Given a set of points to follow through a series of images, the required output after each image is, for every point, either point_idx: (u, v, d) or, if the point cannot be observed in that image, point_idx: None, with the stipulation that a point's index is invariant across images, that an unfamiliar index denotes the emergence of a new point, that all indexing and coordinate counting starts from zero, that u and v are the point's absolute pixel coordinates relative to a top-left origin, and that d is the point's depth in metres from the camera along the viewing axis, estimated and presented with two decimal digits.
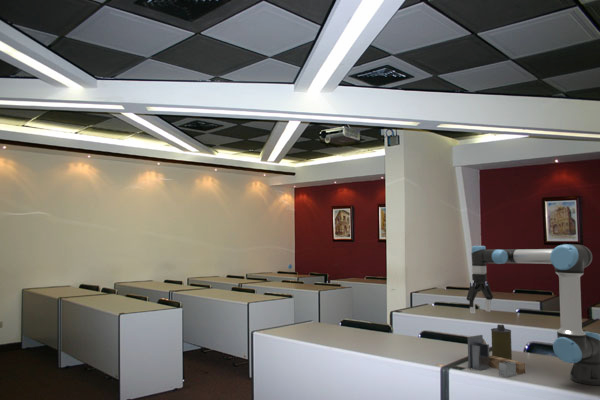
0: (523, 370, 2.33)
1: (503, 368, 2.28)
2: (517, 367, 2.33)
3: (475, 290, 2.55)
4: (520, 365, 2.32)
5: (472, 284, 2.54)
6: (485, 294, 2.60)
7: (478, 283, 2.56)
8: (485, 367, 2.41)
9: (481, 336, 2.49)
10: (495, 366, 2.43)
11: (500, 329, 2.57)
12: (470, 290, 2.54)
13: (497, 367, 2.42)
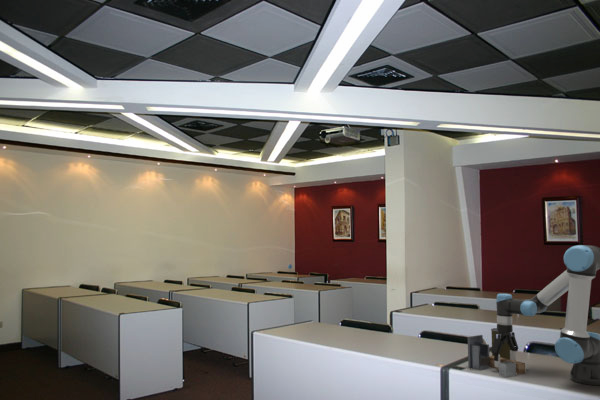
0: (523, 370, 2.33)
1: (503, 368, 2.28)
2: (517, 367, 2.33)
3: (500, 342, 2.39)
4: (520, 365, 2.32)
5: (497, 336, 2.38)
6: (510, 345, 2.44)
7: (503, 335, 2.40)
8: (485, 367, 2.41)
9: (481, 336, 2.49)
10: None
11: None
12: (495, 342, 2.38)
13: (497, 367, 2.42)
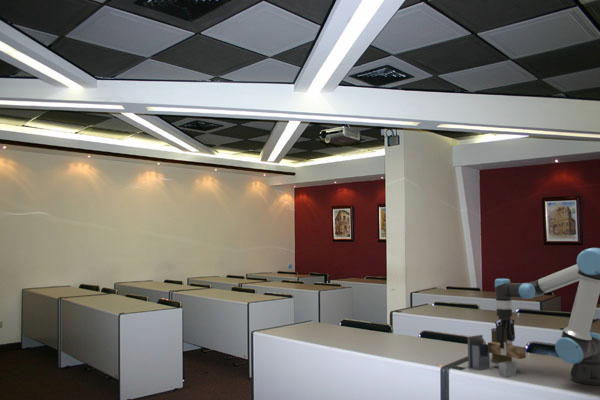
0: (523, 355, 2.34)
1: (503, 368, 2.28)
2: (517, 352, 2.33)
3: (502, 328, 2.40)
4: (520, 349, 2.33)
5: (498, 324, 2.39)
6: (508, 333, 2.43)
7: (503, 319, 2.40)
8: (485, 367, 2.41)
9: (481, 336, 2.49)
10: (495, 351, 2.43)
11: None
12: (498, 330, 2.39)
13: (497, 352, 2.42)
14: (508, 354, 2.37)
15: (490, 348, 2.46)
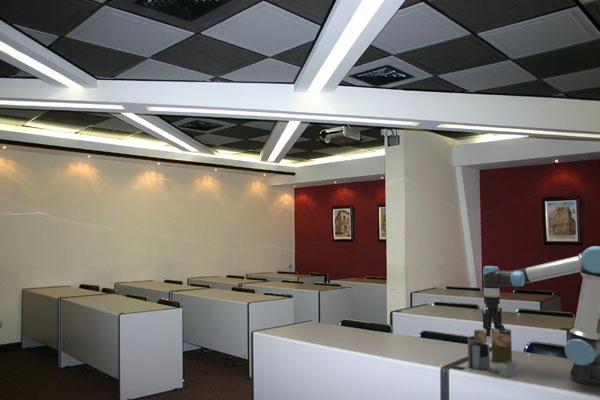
0: (509, 343, 2.31)
1: (503, 368, 2.28)
2: (503, 340, 2.30)
3: (489, 316, 2.37)
4: (506, 338, 2.30)
5: (485, 311, 2.35)
6: (495, 321, 2.40)
7: (490, 306, 2.37)
8: (485, 367, 2.41)
9: None
10: (481, 339, 2.41)
11: (500, 329, 2.57)
12: (484, 318, 2.36)
13: (483, 340, 2.40)
14: (494, 342, 2.34)
15: (476, 336, 2.43)
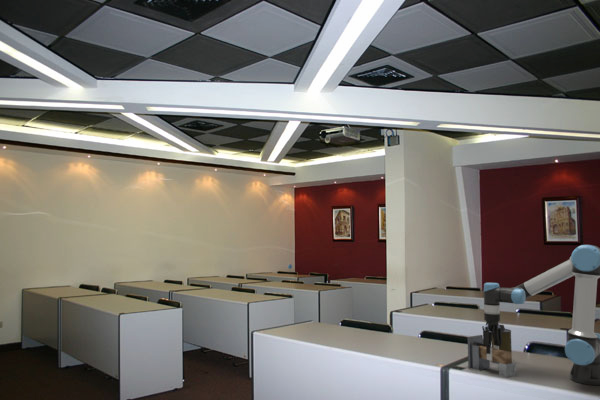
0: (509, 359, 2.30)
1: (503, 368, 2.28)
2: (503, 356, 2.30)
3: (489, 333, 2.36)
4: (506, 354, 2.29)
5: (485, 329, 2.35)
6: (495, 338, 2.39)
7: (490, 324, 2.36)
8: (485, 367, 2.41)
9: (481, 336, 2.49)
10: (481, 356, 2.40)
11: None
12: (484, 335, 2.35)
13: (483, 357, 2.39)
14: (494, 359, 2.34)
15: None
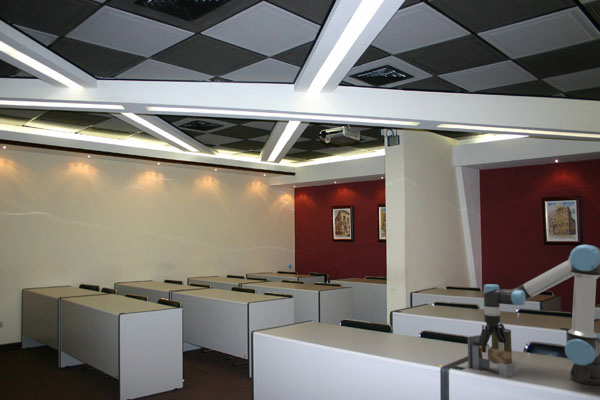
0: (509, 359, 2.30)
1: (503, 368, 2.28)
2: (503, 356, 2.30)
3: (488, 333, 2.35)
4: (506, 354, 2.29)
5: (485, 327, 2.34)
6: (498, 337, 2.41)
7: (491, 326, 2.36)
8: (485, 367, 2.41)
9: None
10: (481, 356, 2.40)
11: None
12: (482, 334, 2.34)
13: None
14: (494, 359, 2.34)
15: None
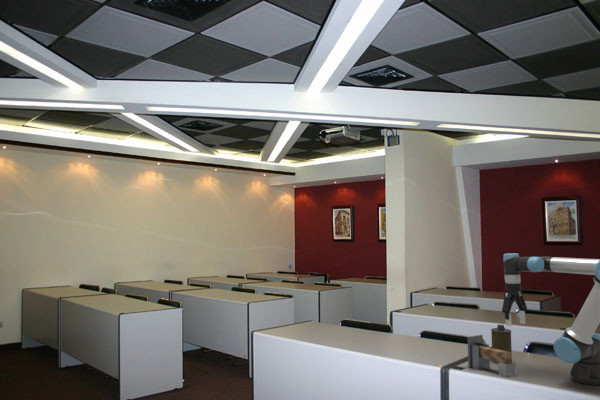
0: (509, 359, 2.30)
1: (503, 368, 2.28)
2: (503, 356, 2.30)
3: (510, 301, 2.38)
4: (506, 354, 2.29)
5: (507, 295, 2.37)
6: (519, 305, 2.43)
7: (513, 293, 2.39)
8: (485, 367, 2.41)
9: (481, 336, 2.49)
10: (481, 356, 2.40)
11: (500, 329, 2.57)
12: (505, 301, 2.36)
13: (483, 357, 2.39)
14: (494, 359, 2.34)
15: None
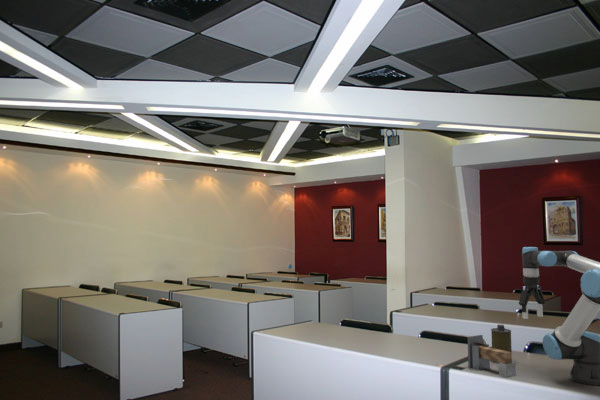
0: (509, 359, 2.30)
1: (503, 368, 2.28)
2: (503, 356, 2.30)
3: (527, 294, 2.40)
4: (506, 354, 2.29)
5: (524, 288, 2.39)
6: (537, 298, 2.45)
7: (530, 287, 2.41)
8: (485, 367, 2.41)
9: (481, 336, 2.49)
10: (481, 356, 2.40)
11: (500, 329, 2.57)
12: (522, 294, 2.38)
13: (483, 357, 2.39)
14: (494, 359, 2.34)
15: None
